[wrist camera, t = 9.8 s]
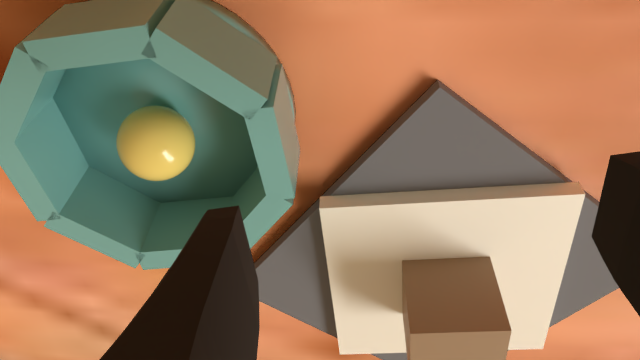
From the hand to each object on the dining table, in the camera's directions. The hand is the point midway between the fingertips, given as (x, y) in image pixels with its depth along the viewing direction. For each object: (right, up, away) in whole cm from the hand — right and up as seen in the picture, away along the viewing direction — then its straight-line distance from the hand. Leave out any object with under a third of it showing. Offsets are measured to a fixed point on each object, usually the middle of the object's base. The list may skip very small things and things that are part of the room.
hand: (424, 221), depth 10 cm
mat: (+4, -4, +16) cm, 17 cm away
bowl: (-8, +4, +11) cm, 14 cm away
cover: (+4, -4, +16) cm, 17 cm away
